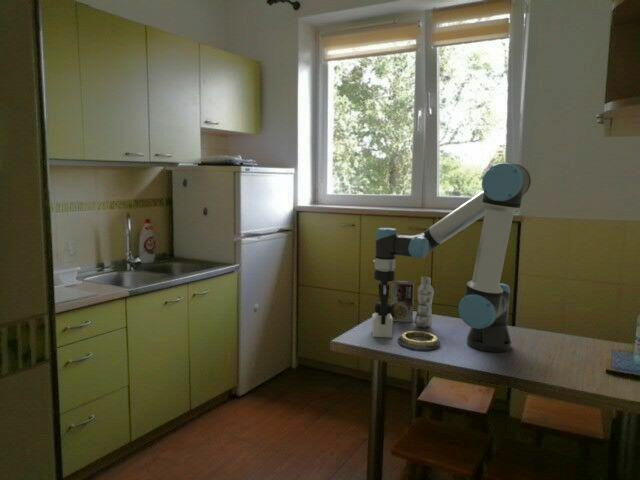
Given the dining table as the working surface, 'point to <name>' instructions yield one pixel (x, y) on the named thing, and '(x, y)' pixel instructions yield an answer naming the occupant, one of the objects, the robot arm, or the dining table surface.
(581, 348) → the dining table surface
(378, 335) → the medicine bottle
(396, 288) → the coffee box
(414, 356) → the dining table surface
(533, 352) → the dining table surface
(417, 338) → the ring
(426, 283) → the plastic bottle
